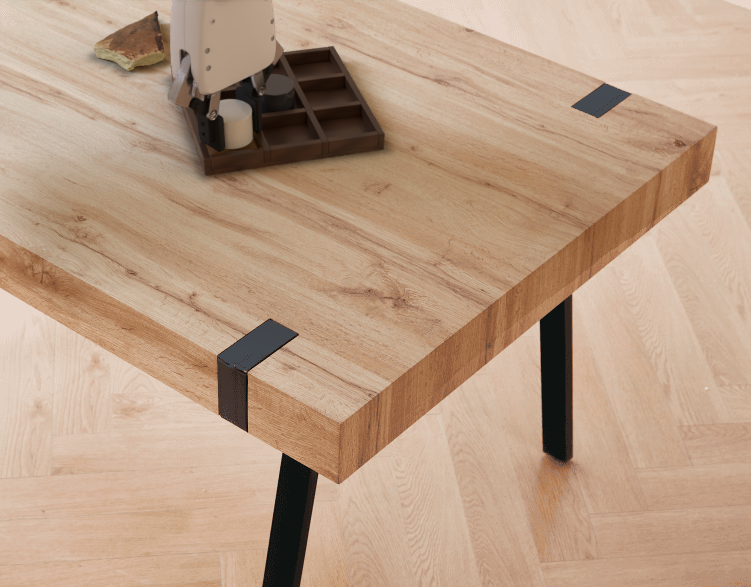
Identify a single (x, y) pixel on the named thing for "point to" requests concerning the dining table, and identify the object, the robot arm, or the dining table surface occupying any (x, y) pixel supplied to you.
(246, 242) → the dining table surface
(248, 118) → the ivory stone
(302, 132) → the board
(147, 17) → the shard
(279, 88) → the black stone
